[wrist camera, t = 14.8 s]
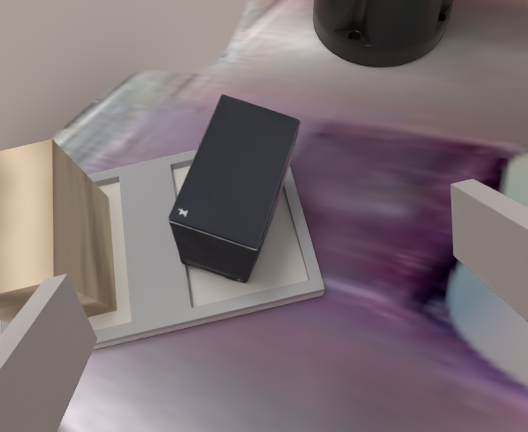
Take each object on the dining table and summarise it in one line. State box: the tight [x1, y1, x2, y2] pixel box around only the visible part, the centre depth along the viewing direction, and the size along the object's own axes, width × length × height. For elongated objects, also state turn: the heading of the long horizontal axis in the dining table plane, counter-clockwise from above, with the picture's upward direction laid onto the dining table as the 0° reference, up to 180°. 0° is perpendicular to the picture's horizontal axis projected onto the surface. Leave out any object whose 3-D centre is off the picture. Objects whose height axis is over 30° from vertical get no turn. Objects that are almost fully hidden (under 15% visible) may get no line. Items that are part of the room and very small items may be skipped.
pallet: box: [0, 149, 325, 350], centre depth 38 cm, size 27×16×2 cm, turn 102°
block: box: [0, 139, 117, 323], centre depth 33 cm, size 7×11×10 cm, turn 12°
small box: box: [168, 94, 300, 283], centre depth 32 cm, size 11×6×10 cm, turn 163°
